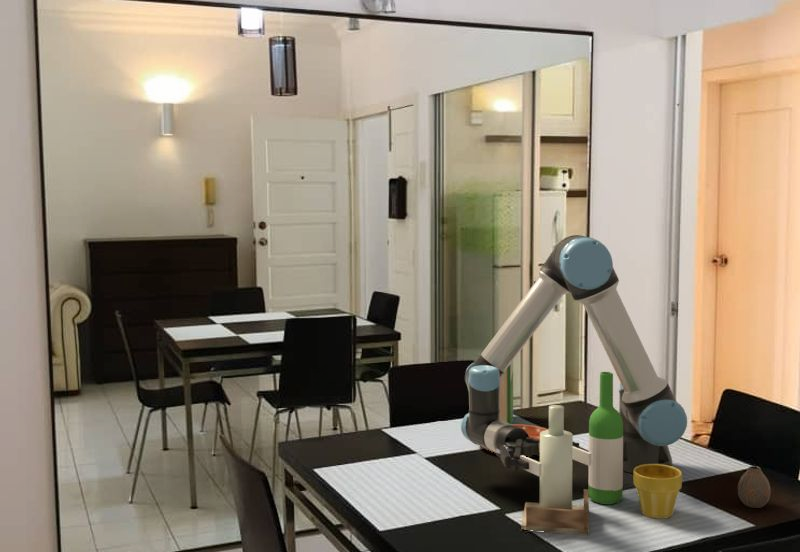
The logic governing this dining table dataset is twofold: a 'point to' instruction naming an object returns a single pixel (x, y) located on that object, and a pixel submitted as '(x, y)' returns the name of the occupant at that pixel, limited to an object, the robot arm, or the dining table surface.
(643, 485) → the plant pot
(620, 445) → the wine bottle
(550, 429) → the bottle
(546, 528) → the dock
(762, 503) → the vase
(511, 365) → the hardback book
